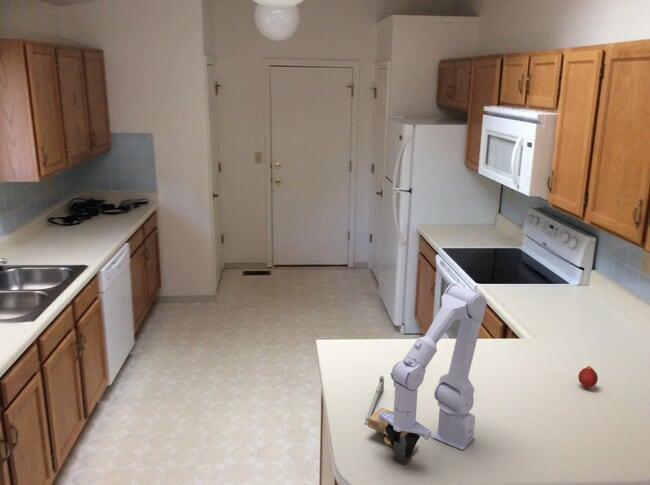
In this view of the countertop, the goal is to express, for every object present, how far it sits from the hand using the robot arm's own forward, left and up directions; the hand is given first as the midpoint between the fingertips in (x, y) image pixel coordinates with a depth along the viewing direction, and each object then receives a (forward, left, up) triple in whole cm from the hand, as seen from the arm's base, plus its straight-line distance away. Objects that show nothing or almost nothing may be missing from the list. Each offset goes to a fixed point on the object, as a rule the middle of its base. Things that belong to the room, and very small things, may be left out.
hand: (402, 452), depth 152 cm
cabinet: (+8, -6, -2) cm, 10 cm away
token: (+7, -5, -2) cm, 8 cm away
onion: (-28, -71, -2) cm, 77 cm away
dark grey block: (0, -2, -2) cm, 3 cm away
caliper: (+20, -17, -2) cm, 26 cm away
